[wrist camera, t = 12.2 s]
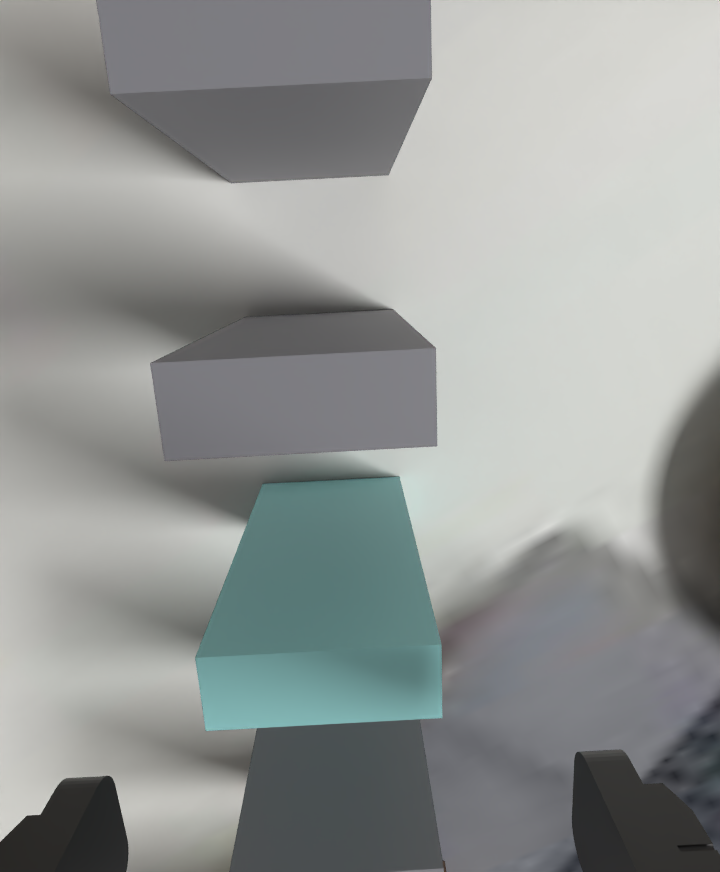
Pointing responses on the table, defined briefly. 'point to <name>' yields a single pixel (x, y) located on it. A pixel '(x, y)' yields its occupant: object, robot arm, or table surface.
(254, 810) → the domino
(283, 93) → the domino
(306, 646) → the domino
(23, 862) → the robot arm
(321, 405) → the domino
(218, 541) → the table surface
